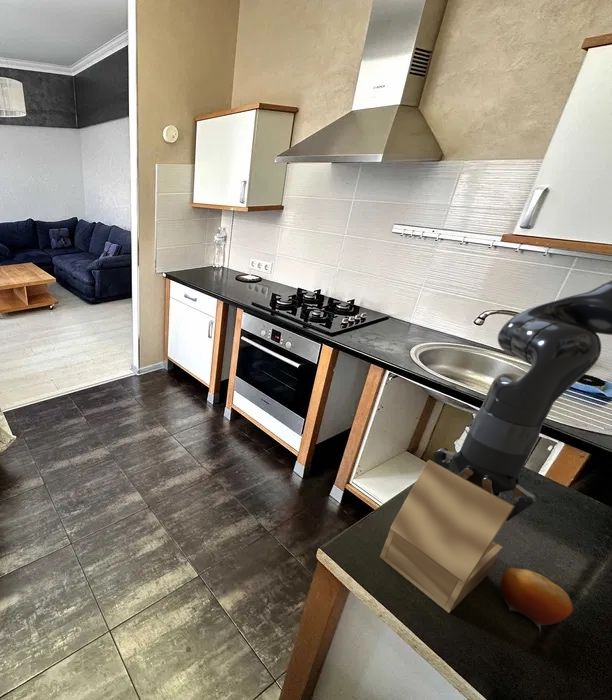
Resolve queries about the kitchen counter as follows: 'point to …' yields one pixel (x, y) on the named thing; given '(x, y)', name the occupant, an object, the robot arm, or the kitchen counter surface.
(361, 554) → the kitchen counter surface
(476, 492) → the lid
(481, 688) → the kitchen counter surface
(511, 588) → the fruit
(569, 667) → the kitchen counter surface
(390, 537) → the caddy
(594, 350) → the robot arm
